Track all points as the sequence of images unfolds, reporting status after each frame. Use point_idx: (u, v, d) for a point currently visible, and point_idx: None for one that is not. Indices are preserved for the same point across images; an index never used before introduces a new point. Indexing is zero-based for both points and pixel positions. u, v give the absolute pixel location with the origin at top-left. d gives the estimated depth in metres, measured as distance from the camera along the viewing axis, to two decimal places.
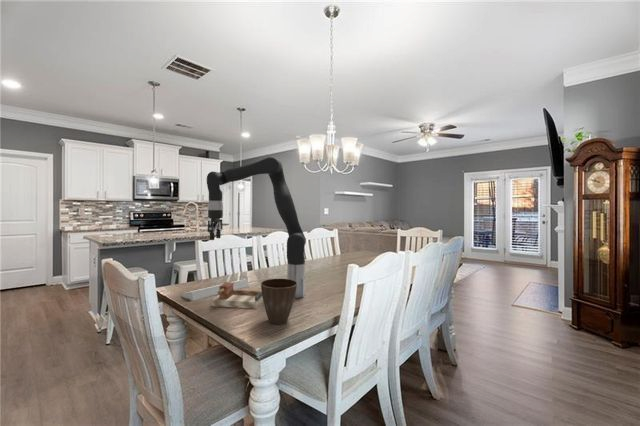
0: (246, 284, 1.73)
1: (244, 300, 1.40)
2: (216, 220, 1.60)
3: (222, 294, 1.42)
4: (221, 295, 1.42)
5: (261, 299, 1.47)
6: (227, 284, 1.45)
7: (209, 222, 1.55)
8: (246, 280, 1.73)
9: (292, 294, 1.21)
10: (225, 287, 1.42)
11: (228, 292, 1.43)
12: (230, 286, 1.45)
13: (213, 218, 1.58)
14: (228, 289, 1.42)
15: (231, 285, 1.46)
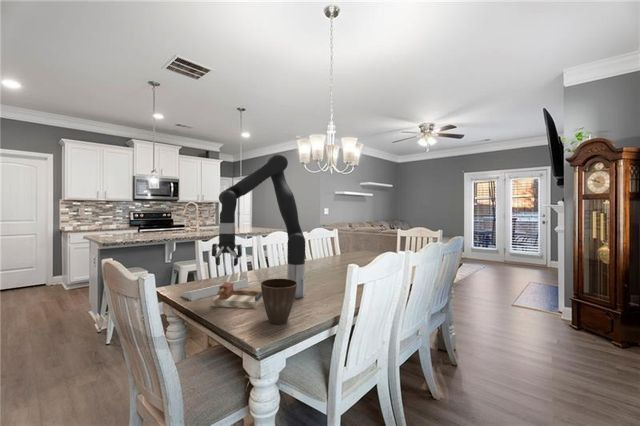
0: (246, 284, 1.72)
1: (244, 300, 1.40)
2: None
3: (222, 294, 1.42)
4: (221, 295, 1.42)
5: (261, 299, 1.47)
6: (227, 284, 1.45)
7: (240, 246, 1.44)
8: (246, 280, 1.73)
9: (292, 294, 1.21)
10: (225, 287, 1.42)
11: (228, 292, 1.43)
12: (230, 286, 1.45)
13: (234, 242, 1.45)
14: (228, 289, 1.42)
15: (231, 285, 1.46)
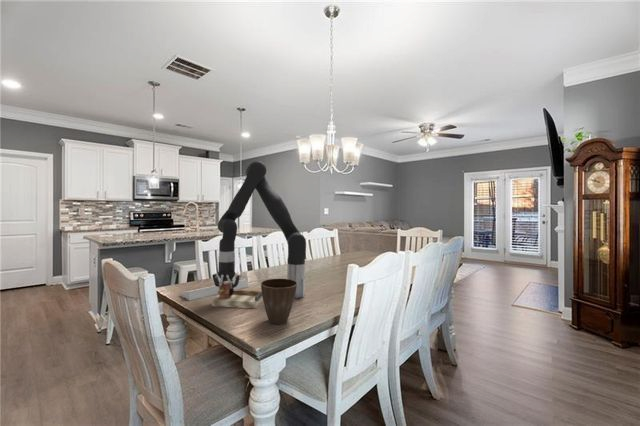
0: (246, 284, 1.72)
1: (244, 300, 1.40)
2: None
3: (222, 294, 1.42)
4: (221, 295, 1.42)
5: (261, 299, 1.47)
6: (227, 284, 1.45)
7: (239, 277, 1.44)
8: (246, 280, 1.72)
9: (292, 294, 1.21)
10: (225, 287, 1.42)
11: (228, 292, 1.43)
12: None
13: (234, 270, 1.45)
14: (228, 289, 1.42)
15: None
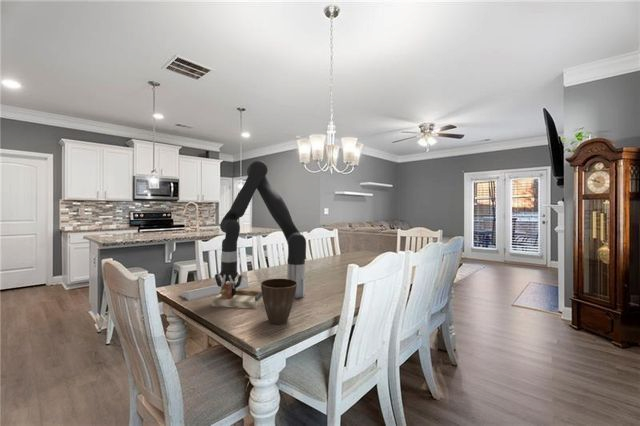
0: (246, 285, 1.71)
1: (244, 300, 1.40)
2: None
3: (224, 294, 1.42)
4: (223, 295, 1.42)
5: (261, 299, 1.47)
6: (229, 284, 1.45)
7: (241, 277, 1.44)
8: (246, 281, 1.72)
9: (292, 294, 1.21)
10: (227, 287, 1.41)
11: (231, 292, 1.43)
12: None
13: (236, 270, 1.45)
14: (230, 289, 1.42)
15: None
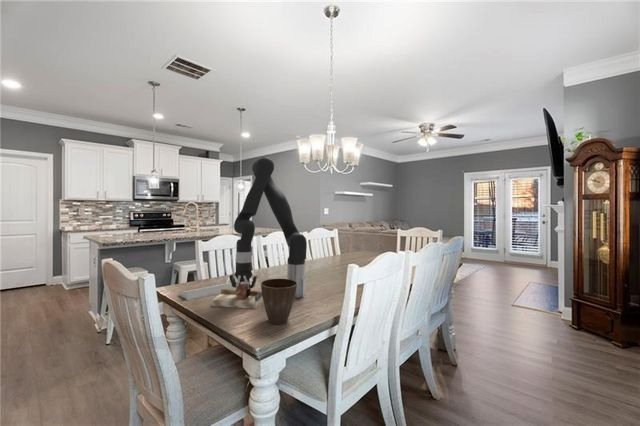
0: None
1: (244, 300, 1.40)
2: None
3: (239, 295, 1.41)
4: (238, 296, 1.41)
5: (261, 299, 1.47)
6: (244, 285, 1.44)
7: (256, 278, 1.43)
8: None
9: (292, 294, 1.21)
10: (242, 288, 1.41)
11: (245, 292, 1.43)
12: None
13: (251, 270, 1.44)
14: (245, 290, 1.42)
15: None
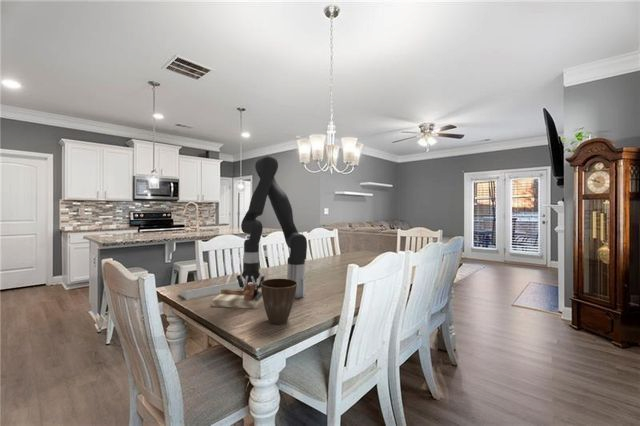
0: None
1: (244, 300, 1.40)
2: None
3: (247, 295, 1.41)
4: (246, 296, 1.41)
5: (261, 299, 1.47)
6: (251, 285, 1.44)
7: (263, 278, 1.43)
8: None
9: (292, 294, 1.21)
10: (250, 288, 1.41)
11: (253, 293, 1.42)
12: None
13: (258, 271, 1.44)
14: (253, 291, 1.41)
15: None
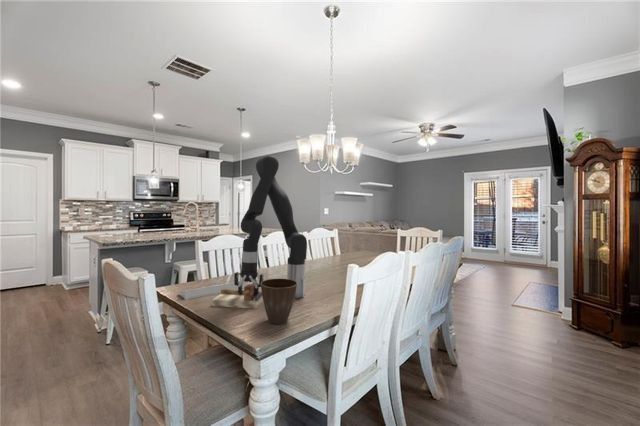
0: (245, 285, 1.70)
1: (244, 300, 1.40)
2: None
3: (247, 295, 1.41)
4: (246, 296, 1.41)
5: (261, 299, 1.47)
6: (251, 285, 1.44)
7: (262, 276, 1.43)
8: None
9: (292, 294, 1.21)
10: (250, 288, 1.40)
11: (253, 293, 1.42)
12: (254, 287, 1.44)
13: None
14: (252, 291, 1.41)
15: None
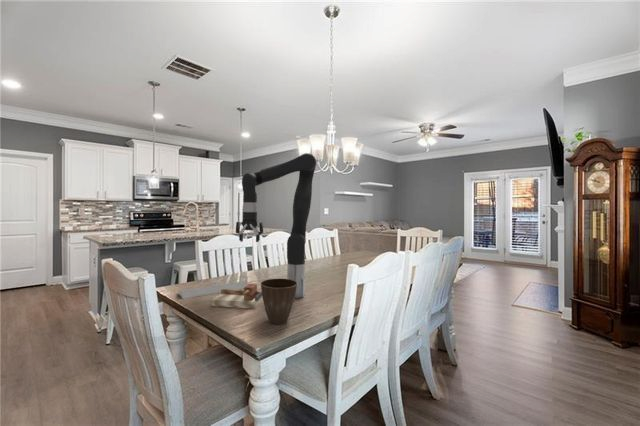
0: None
1: (244, 300, 1.40)
2: None
3: (247, 295, 1.41)
4: (246, 296, 1.41)
5: (261, 299, 1.47)
6: (251, 285, 1.44)
7: (262, 224, 1.58)
8: (245, 282, 1.70)
9: (292, 294, 1.21)
10: (250, 288, 1.40)
11: (253, 293, 1.42)
12: (254, 287, 1.44)
13: (256, 220, 1.59)
14: (252, 291, 1.41)
15: (255, 286, 1.45)
